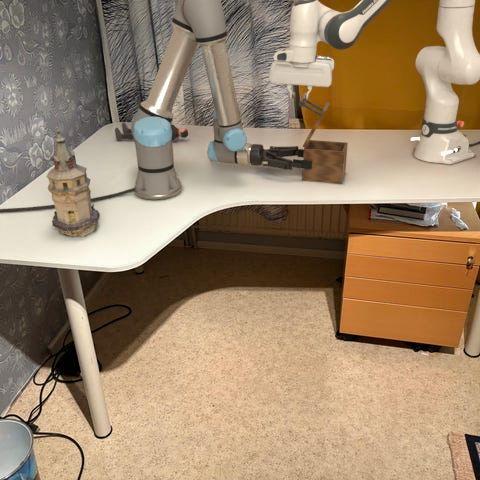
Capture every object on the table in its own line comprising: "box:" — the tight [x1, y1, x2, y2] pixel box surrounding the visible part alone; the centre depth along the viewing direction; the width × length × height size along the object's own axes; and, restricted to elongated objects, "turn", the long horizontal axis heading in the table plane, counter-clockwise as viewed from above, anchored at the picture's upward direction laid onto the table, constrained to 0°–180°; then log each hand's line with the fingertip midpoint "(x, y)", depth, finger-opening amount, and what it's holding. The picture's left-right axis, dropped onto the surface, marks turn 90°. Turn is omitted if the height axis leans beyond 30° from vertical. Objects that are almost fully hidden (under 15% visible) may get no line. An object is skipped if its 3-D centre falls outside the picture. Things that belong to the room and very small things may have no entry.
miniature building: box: [46, 129, 101, 237], centre depth 148 cm, size 13×14×30 cm
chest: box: [302, 139, 348, 185], centre depth 184 cm, size 14×10×11 cm
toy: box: [114, 121, 189, 142], centre depth 223 cm, size 26×6×30 cm
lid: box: [298, 96, 331, 149], centre depth 179 cm, size 14×10×9 cm
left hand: (314, 159), depth 185 cm, fingers closed on chest, 10 cm apart
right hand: (299, 98), depth 176 cm, fingers open, 3 cm apart
